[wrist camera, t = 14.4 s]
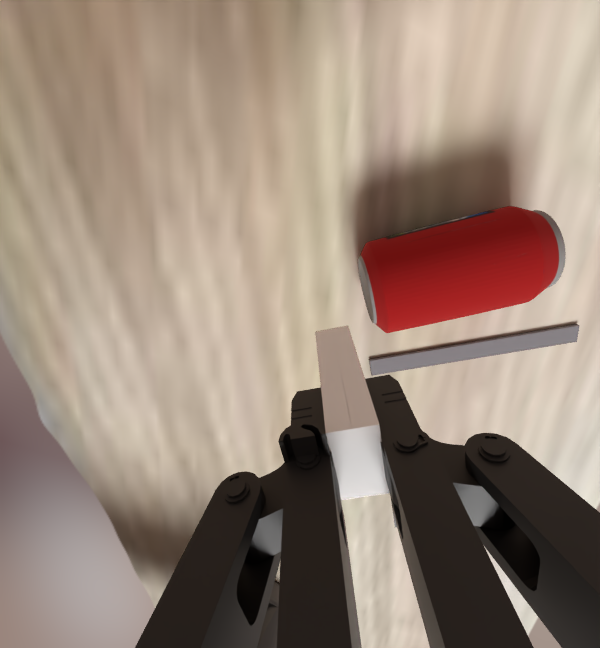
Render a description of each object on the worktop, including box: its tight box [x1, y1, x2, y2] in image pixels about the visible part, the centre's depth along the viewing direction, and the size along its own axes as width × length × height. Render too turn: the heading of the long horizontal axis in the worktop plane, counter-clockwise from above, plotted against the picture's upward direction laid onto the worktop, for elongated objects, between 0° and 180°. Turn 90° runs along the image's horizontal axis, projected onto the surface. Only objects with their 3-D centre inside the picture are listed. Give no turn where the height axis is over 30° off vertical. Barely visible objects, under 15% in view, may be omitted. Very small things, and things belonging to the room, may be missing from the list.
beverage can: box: [358, 206, 565, 333], centre depth 24 cm, size 7×7×12 cm
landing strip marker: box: [369, 324, 579, 375], centre depth 30 cm, size 18×2×1 cm, turn 102°
